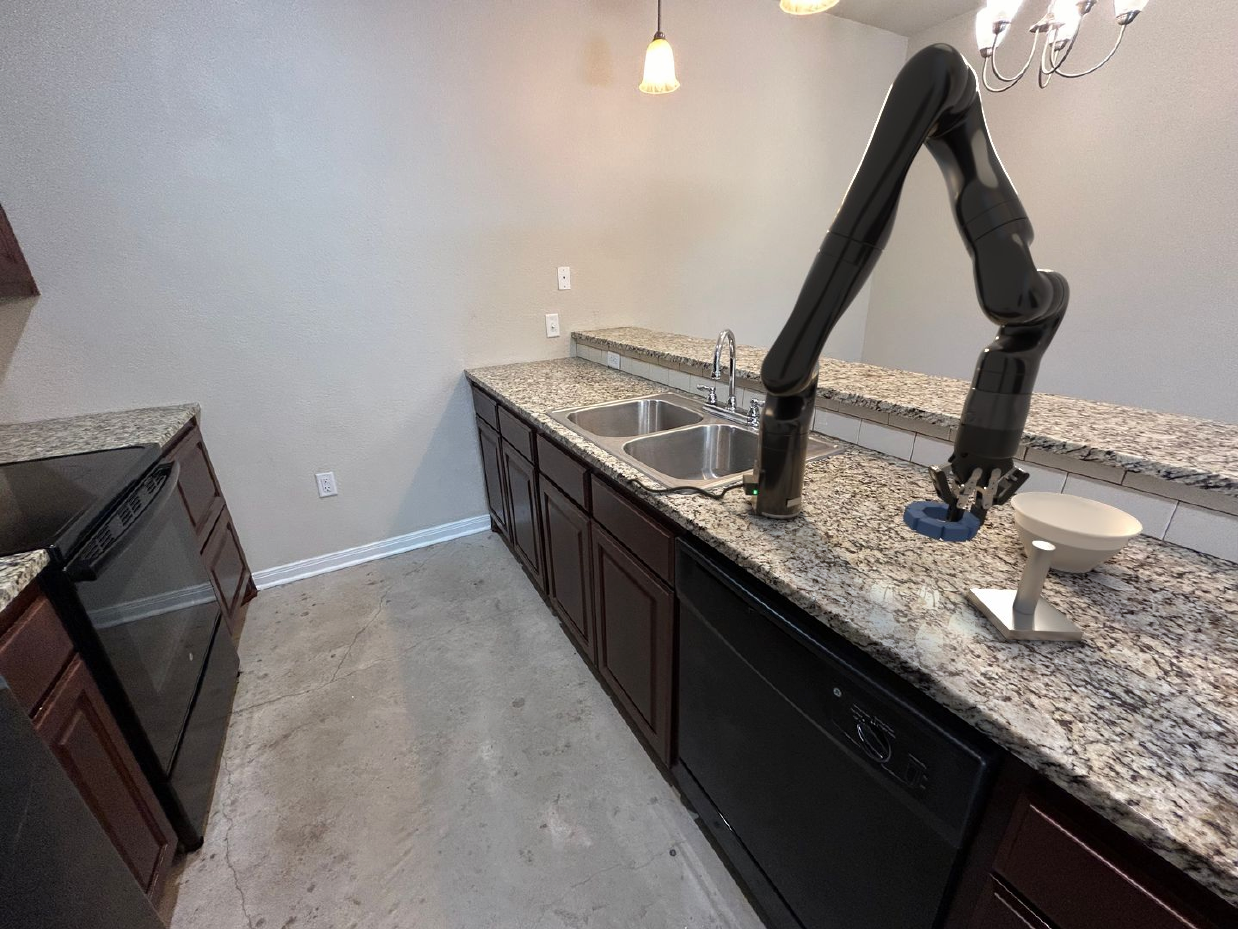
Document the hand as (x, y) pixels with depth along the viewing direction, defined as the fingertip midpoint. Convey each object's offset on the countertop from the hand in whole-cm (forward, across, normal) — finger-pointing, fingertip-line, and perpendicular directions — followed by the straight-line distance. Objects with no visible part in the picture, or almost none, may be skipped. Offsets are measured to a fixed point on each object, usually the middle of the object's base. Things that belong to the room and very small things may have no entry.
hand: (962, 526), depth 77 cm
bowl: (+8, -19, -4) cm, 21 cm away
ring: (0, +4, 0) cm, 4 cm away
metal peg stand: (+8, -3, +12) cm, 14 cm away
